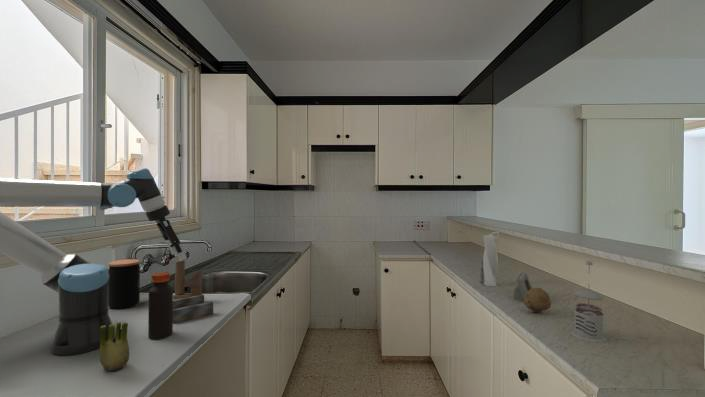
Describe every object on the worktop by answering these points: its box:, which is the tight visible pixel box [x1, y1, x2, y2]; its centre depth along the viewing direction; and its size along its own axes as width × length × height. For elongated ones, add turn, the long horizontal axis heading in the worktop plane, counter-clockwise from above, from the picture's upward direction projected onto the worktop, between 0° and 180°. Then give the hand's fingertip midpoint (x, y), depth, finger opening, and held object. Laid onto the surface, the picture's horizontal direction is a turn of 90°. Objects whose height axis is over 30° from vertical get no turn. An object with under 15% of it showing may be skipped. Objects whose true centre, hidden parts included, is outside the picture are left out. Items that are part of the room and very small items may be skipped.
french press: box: [564, 260, 608, 344], centre depth 108 cm, size 10×12×25 cm
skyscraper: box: [479, 231, 500, 288], centre depth 168 cm, size 8×8×28 cm
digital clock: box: [513, 271, 533, 302], centre depth 147 cm, size 16×9×11 cm, turn 134°
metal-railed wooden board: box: [173, 294, 214, 324], centre depth 124 cm, size 14×13×4 cm
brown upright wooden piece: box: [173, 259, 204, 300], centre depth 136 cm, size 4×11×18 cm, turn 93°
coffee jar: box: [107, 258, 141, 310], centre depth 133 cm, size 11×11×18 cm
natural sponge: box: [523, 287, 552, 314], centre depth 128 cm, size 9×9×10 cm
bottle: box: [147, 271, 174, 340], centre depth 105 cm, size 7×7×20 cm
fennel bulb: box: [99, 321, 130, 372], centre depth 85 cm, size 6×5×12 cm
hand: (179, 256), depth 129 cm, fingers open, 13 cm apart
